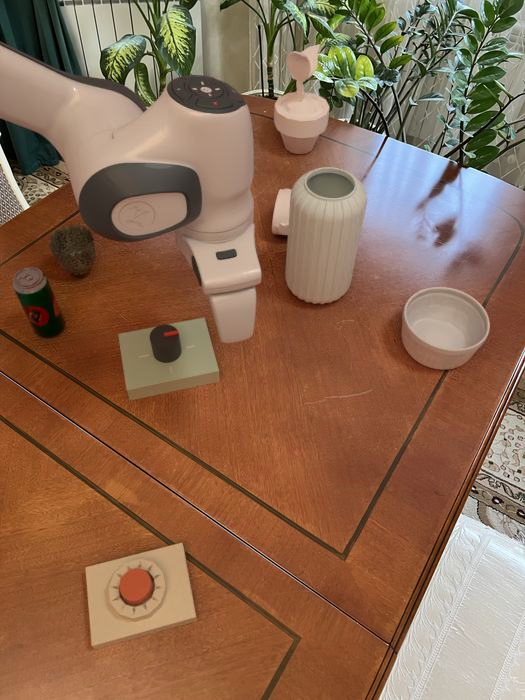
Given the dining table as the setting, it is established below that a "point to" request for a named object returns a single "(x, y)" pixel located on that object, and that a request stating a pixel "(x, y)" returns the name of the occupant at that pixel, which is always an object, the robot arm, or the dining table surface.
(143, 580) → the button
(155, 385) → the panel
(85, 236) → the dark grey rounded lump
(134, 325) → the dining table surface
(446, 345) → the ramekin
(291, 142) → the potted plant
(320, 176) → the vase
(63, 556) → the dining table surface
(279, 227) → the soap bar
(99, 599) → the button box
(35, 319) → the soda can
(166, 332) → the knob
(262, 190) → the dining table surface
